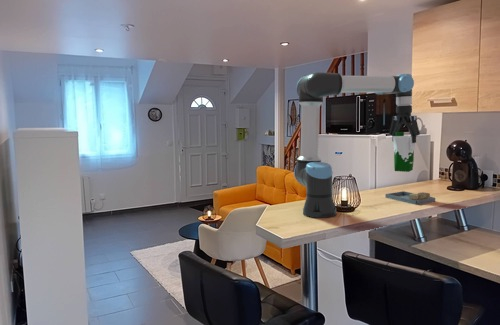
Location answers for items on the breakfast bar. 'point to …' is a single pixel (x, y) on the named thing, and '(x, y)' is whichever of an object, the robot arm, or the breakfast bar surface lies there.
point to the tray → (407, 198)
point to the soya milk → (403, 153)
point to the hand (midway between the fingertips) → (403, 148)
